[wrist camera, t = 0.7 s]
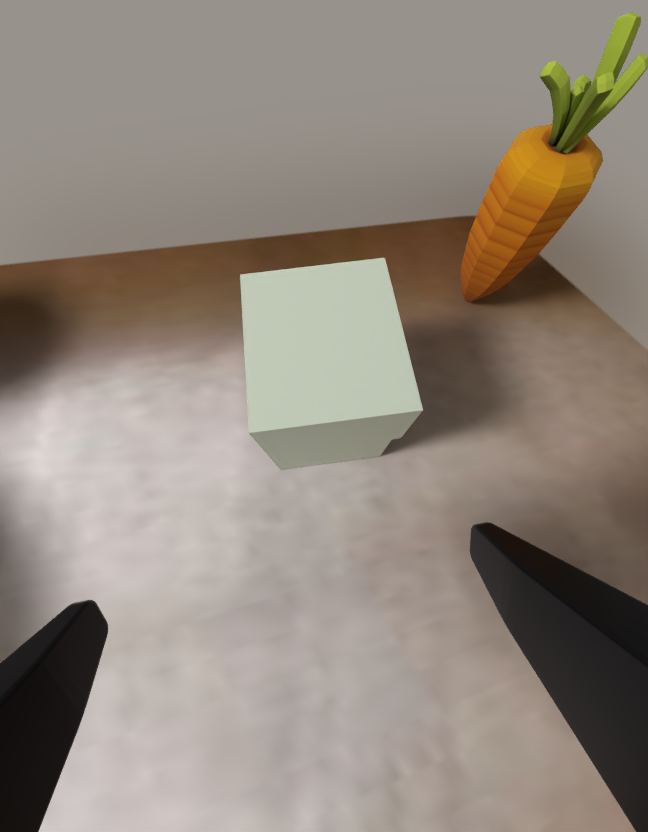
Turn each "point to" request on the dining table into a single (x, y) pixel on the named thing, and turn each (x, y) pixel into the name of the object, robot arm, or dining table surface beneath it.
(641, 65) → the carrot
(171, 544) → the dining table surface
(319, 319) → the sage cover
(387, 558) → the dining table surface
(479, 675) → the dining table surface
